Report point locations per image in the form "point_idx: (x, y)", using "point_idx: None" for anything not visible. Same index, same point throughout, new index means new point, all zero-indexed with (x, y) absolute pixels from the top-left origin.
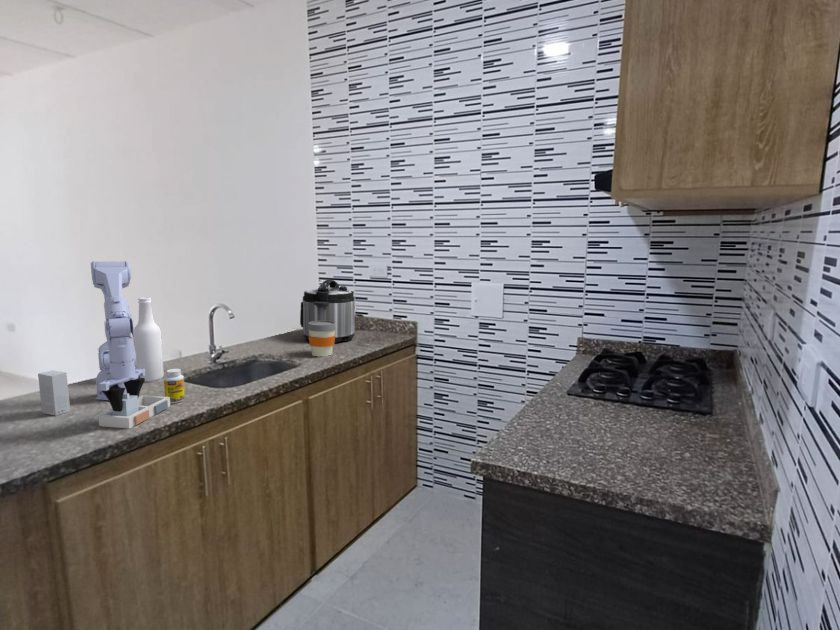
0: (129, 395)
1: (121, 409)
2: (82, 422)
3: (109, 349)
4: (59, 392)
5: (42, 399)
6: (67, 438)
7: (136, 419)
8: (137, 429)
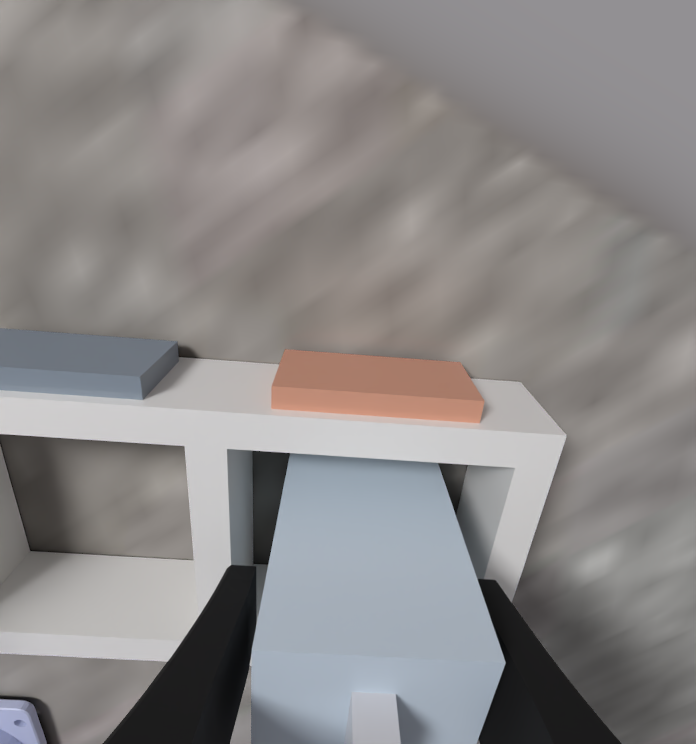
0: (269, 727)
1: (486, 591)
2: None
3: None
4: None
5: None
6: (656, 633)
7: (472, 385)
8: (541, 303)
